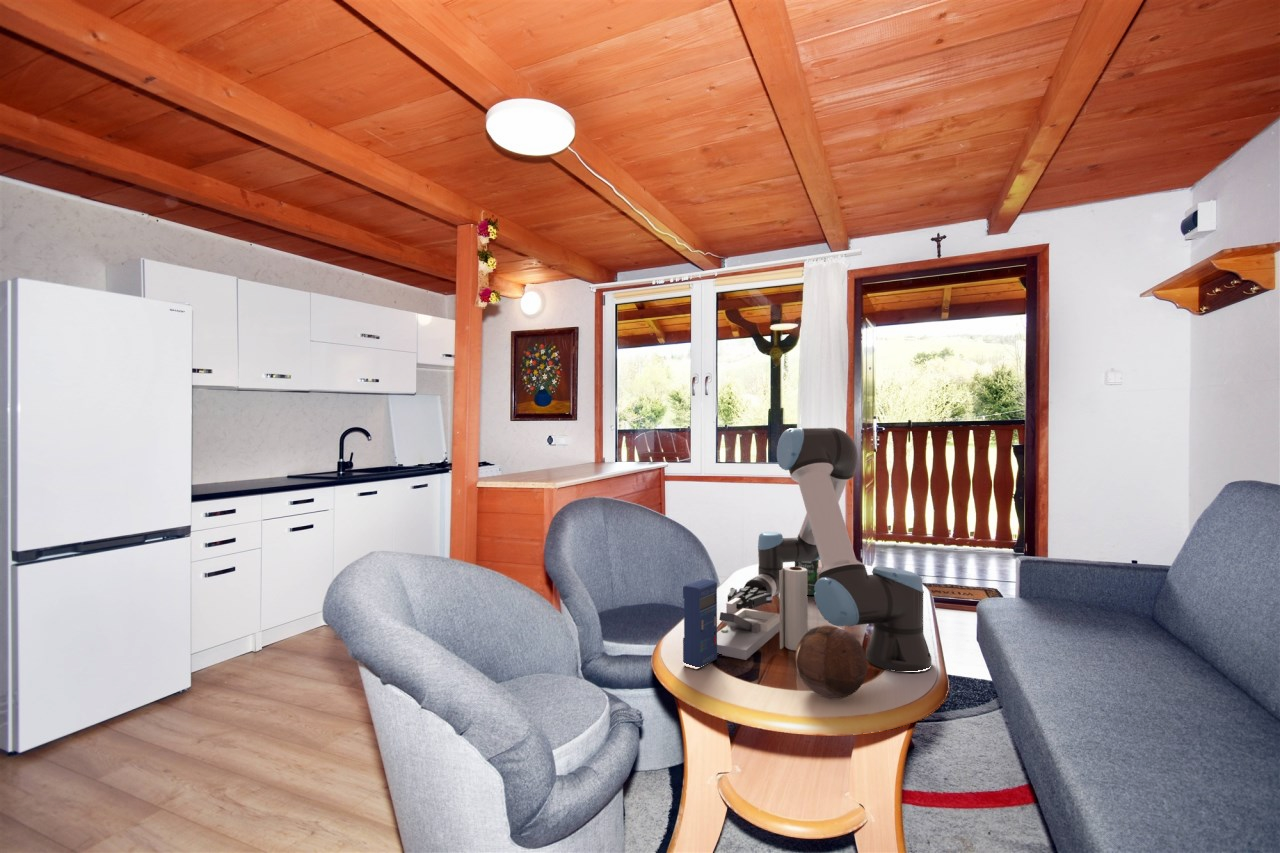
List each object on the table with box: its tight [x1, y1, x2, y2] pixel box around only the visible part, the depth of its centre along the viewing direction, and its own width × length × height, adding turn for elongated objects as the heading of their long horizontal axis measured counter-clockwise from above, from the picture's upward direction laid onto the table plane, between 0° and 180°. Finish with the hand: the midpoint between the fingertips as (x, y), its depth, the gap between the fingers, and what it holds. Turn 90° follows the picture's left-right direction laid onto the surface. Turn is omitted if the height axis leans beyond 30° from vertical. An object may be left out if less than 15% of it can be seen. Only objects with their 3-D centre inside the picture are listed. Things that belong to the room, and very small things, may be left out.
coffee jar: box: [794, 560, 820, 595], centre depth 217 cm, size 10×8×19 cm
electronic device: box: [682, 578, 718, 667], centre depth 150 cm, size 10×5×20 cm, turn 143°
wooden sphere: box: [795, 624, 868, 700], centre depth 131 cm, size 15×15×15 cm
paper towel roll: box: [778, 566, 809, 652], centre depth 161 cm, size 7×6×21 cm
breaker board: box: [717, 608, 780, 661], centre depth 167 cm, size 28×12×4 cm, turn 149°
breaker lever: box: [718, 611, 752, 631], centre depth 163 cm, size 2×5×15 cm
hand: (729, 608), depth 159 cm, fingers closed
